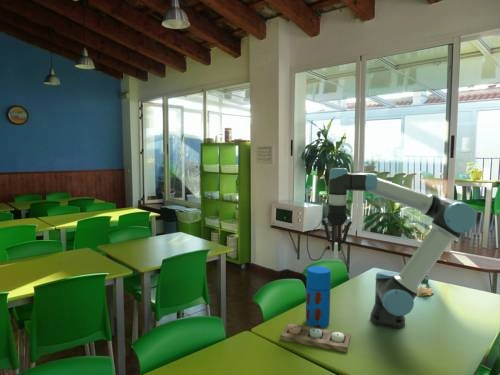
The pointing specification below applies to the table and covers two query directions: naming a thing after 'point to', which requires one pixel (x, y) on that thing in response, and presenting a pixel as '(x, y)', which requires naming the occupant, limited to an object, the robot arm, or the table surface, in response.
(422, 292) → the frog figurine
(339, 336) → the button one
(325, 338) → the board
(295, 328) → the button three
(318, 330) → the button two
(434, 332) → the table surface
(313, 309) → the thermos
